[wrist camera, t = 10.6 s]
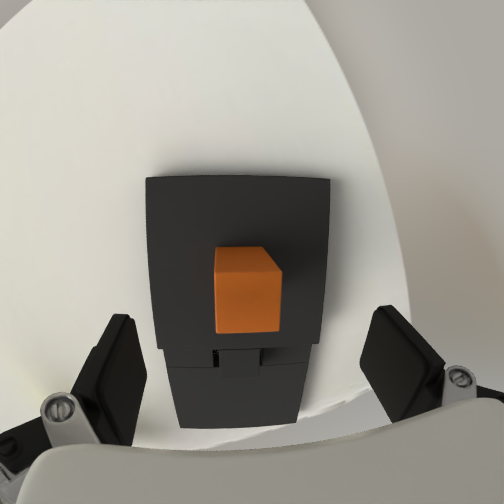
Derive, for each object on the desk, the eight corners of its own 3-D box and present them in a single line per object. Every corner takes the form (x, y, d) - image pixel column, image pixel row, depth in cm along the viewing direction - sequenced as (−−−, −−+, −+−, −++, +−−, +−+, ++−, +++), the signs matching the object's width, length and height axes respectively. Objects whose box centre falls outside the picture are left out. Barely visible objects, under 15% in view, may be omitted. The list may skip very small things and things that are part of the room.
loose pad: (310, 362, 23) (341, 421, 15) (165, 368, 21) (149, 432, 14) (323, 179, 20) (377, 175, 12) (150, 178, 18) (111, 171, 11)
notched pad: (293, 412, 27) (296, 423, 26) (181, 417, 26) (180, 428, 25) (308, 323, 23) (313, 333, 22) (163, 327, 22) (160, 338, 21)
